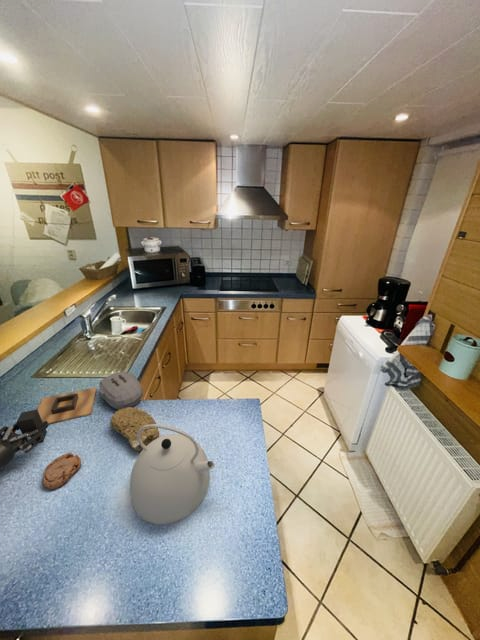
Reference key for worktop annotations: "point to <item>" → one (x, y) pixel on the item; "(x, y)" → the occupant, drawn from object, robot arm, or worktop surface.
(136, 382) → the grey rounded bag
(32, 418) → the black block
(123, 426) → the sponge
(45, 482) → the cookie
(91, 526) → the worktop surface
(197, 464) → the kettle
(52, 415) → the base pad
